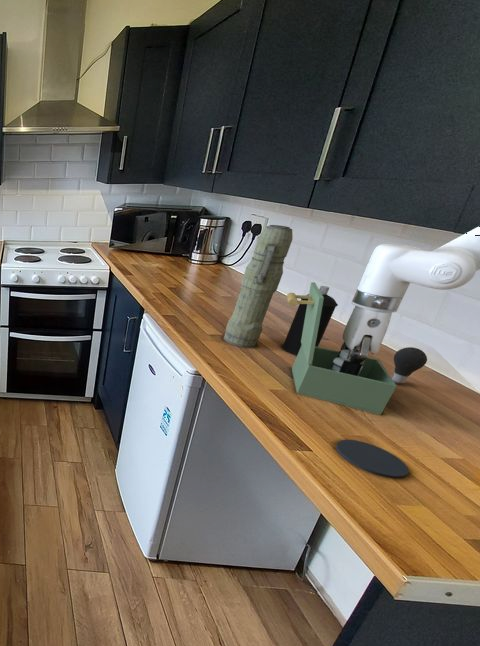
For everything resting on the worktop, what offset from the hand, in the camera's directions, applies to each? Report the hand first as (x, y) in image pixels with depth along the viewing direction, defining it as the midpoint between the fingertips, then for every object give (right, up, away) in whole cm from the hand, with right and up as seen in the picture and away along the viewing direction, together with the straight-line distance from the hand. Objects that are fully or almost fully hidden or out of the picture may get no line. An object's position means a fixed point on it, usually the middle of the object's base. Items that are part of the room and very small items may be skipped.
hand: (344, 371), depth 96 cm
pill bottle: (0, -4, +2) cm, 4 cm away
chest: (-1, -5, +3) cm, 6 cm away
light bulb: (+20, -4, +7) cm, 22 cm away
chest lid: (-7, +12, 0) cm, 14 cm away
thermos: (-7, +7, +28) cm, 29 cm away
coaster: (-15, -15, -21) cm, 29 cm away
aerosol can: (+8, +4, +23) cm, 24 cm away
